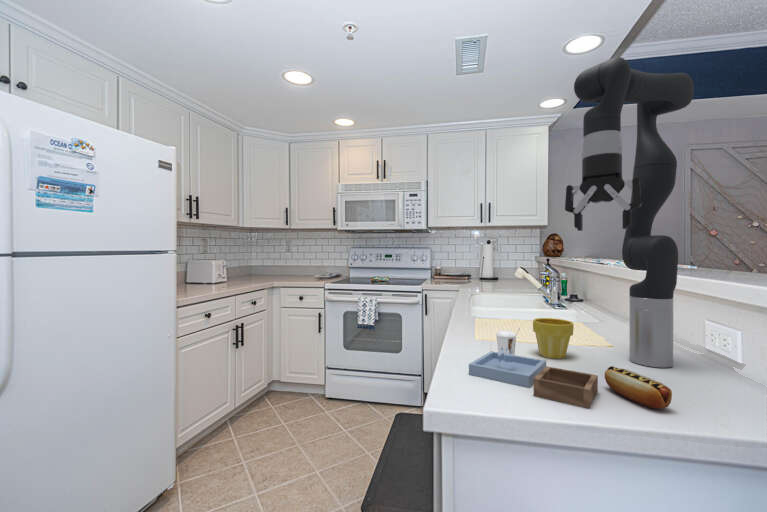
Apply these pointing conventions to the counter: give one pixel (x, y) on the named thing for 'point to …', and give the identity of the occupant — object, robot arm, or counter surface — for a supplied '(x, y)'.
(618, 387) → the hot dog
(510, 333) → the milkshake
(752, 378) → the counter surface
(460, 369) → the counter surface
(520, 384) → the tray
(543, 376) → the holder
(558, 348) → the plant pot
